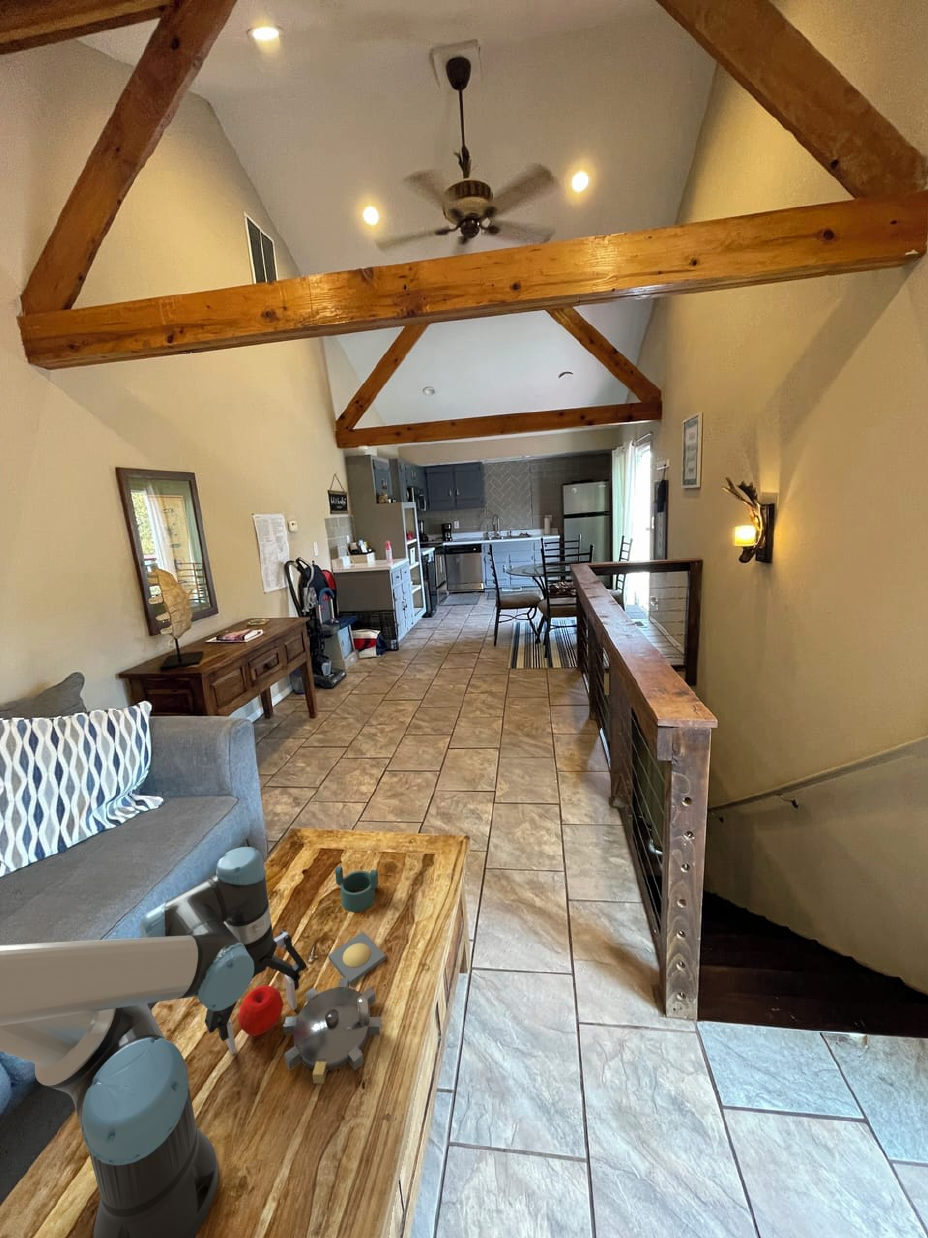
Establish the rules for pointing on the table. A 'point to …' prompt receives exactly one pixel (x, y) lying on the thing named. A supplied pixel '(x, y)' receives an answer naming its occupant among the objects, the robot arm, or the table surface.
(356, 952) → the seat
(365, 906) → the bracket
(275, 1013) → the apple
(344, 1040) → the sprocket
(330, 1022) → the hub
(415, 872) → the table surface
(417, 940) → the table surface
